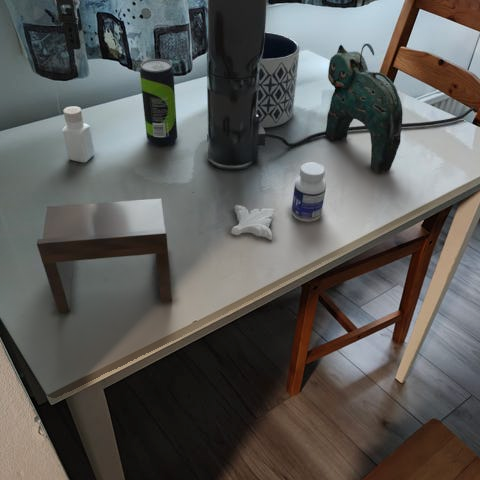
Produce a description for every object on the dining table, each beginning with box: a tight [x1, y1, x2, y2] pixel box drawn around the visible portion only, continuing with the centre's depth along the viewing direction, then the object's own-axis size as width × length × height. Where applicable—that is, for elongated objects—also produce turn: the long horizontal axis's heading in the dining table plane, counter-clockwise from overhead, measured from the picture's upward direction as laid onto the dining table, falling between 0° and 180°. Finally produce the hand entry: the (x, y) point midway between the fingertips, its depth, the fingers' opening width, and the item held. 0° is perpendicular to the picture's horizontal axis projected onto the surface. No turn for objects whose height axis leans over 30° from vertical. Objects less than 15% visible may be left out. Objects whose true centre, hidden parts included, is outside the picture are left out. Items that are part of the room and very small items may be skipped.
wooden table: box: [36, 198, 173, 313], centre depth 74 cm, size 16×11×12 cm
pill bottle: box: [291, 161, 327, 223], centre depth 88 cm, size 5×5×9 cm
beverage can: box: [139, 58, 178, 147], centre depth 102 cm, size 6×6×15 cm
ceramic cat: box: [325, 43, 404, 174], centre depth 100 cm, size 20×6×20 cm, turn 29°
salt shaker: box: [62, 105, 95, 163], centre depth 99 cm, size 4×4×10 cm
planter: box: [257, 31, 300, 129], centre depth 112 cm, size 16×16×14 cm
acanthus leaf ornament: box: [231, 204, 275, 241], centre depth 88 cm, size 8×7×2 cm
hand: (75, 39), depth 86 cm, fingers open, 8 cm apart
